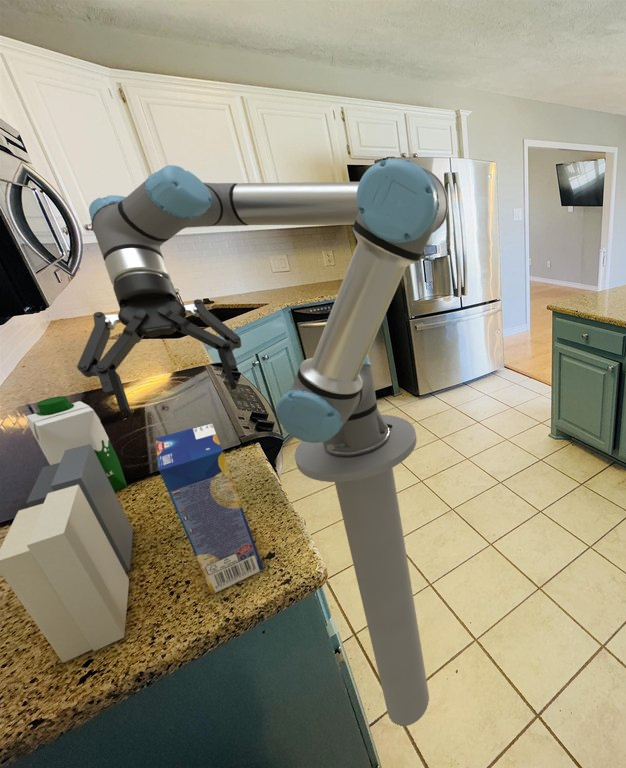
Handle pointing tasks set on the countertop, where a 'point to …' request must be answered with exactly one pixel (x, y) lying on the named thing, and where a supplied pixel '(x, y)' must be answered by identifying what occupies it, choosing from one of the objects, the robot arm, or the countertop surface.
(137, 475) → the countertop surface
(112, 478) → the milk carton
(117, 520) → the grey books
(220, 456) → the beverage box
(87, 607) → the cream books
